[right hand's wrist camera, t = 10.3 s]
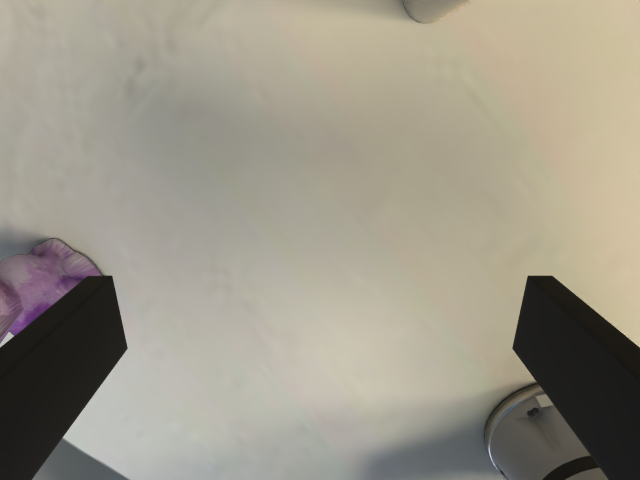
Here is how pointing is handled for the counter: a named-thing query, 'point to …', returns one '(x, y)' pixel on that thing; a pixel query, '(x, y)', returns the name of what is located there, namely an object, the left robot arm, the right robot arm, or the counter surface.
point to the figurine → (38, 282)
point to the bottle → (432, 9)
